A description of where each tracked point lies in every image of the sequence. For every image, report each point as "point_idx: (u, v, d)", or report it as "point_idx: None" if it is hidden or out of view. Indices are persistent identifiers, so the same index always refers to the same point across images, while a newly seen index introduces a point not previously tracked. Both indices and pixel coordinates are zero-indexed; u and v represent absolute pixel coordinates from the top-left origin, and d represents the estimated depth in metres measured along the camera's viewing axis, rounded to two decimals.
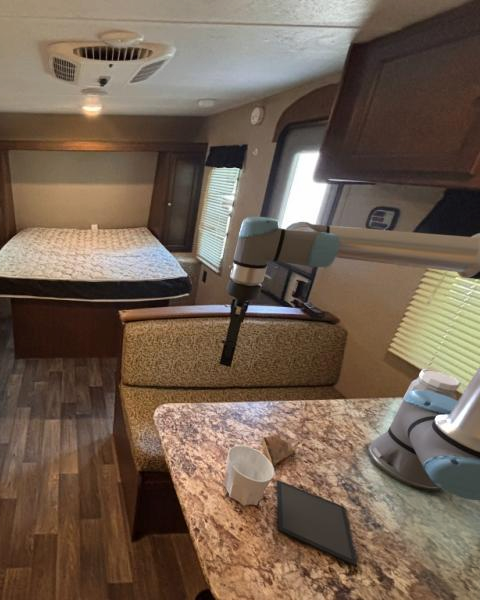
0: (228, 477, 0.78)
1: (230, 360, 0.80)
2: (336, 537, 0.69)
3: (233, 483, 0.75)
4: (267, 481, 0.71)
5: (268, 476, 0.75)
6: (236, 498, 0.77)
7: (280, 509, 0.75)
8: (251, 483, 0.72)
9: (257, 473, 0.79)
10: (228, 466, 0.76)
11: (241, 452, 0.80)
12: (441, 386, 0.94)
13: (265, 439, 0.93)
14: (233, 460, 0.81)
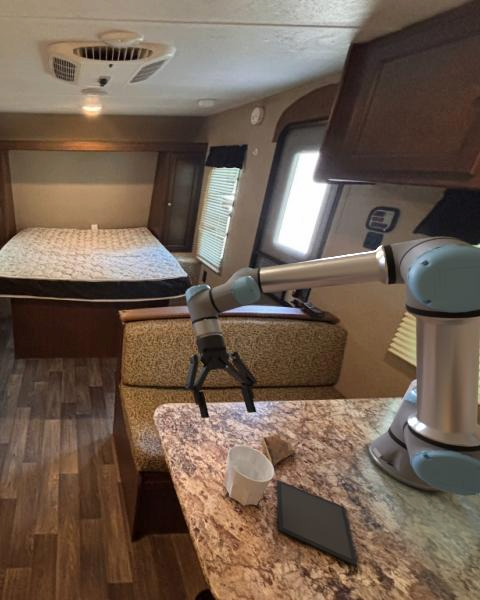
0: (228, 477, 0.78)
1: (204, 409, 0.82)
2: (336, 537, 0.69)
3: (233, 483, 0.75)
4: (267, 481, 0.71)
5: (268, 476, 0.75)
6: (236, 498, 0.77)
7: (280, 509, 0.75)
8: (251, 483, 0.72)
9: (257, 473, 0.79)
10: (228, 466, 0.76)
11: (241, 452, 0.80)
12: None
13: (265, 439, 0.93)
14: (233, 460, 0.81)
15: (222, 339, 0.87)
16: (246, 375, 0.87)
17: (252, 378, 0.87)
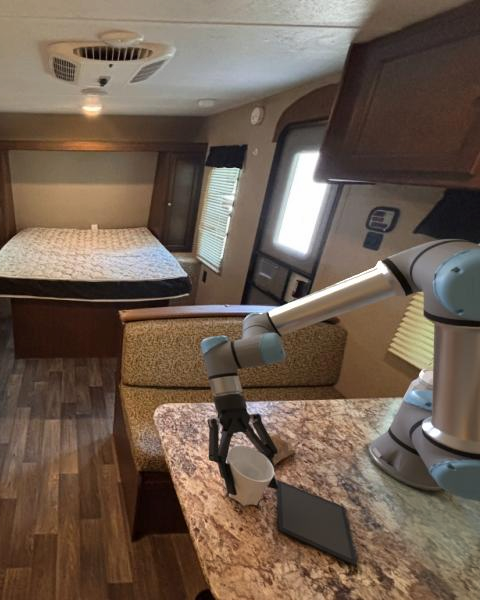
0: None
1: (231, 485, 0.74)
2: (336, 537, 0.69)
3: None
4: (267, 481, 0.71)
5: (268, 476, 0.75)
6: (236, 498, 0.77)
7: (280, 509, 0.75)
8: (251, 483, 0.72)
9: (257, 473, 0.79)
10: None
11: (241, 452, 0.80)
12: None
13: None
14: (233, 460, 0.81)
15: (243, 399, 0.80)
16: (266, 442, 0.79)
17: (273, 447, 0.78)
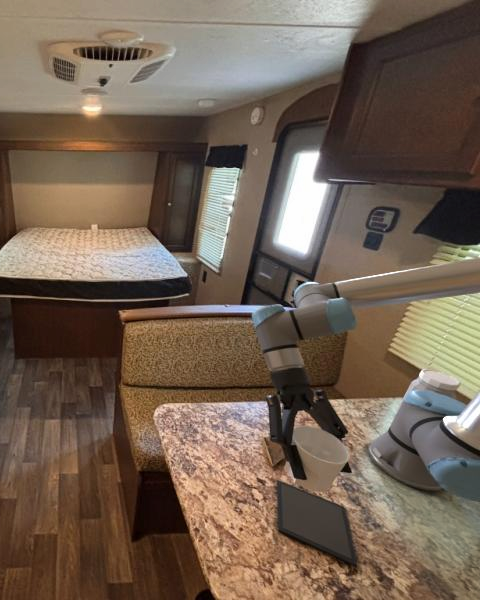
0: None
1: (299, 469, 0.65)
2: (336, 537, 0.69)
3: None
4: (343, 463, 0.62)
5: (340, 459, 0.66)
6: (303, 484, 0.68)
7: (280, 509, 0.75)
8: (325, 466, 0.63)
9: (325, 456, 0.69)
10: None
11: (304, 433, 0.71)
12: (441, 386, 0.94)
13: (265, 439, 0.93)
14: None
15: (306, 373, 0.71)
16: (334, 422, 0.70)
17: (342, 427, 0.69)
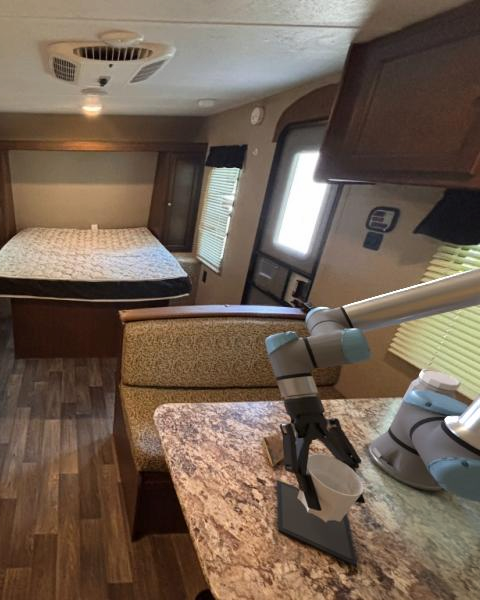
0: None
1: (313, 499, 0.66)
2: (336, 537, 0.69)
3: None
4: (358, 495, 0.63)
5: (354, 489, 0.67)
6: (316, 513, 0.68)
7: (280, 509, 0.75)
8: (339, 497, 0.64)
9: (338, 484, 0.70)
10: None
11: (318, 461, 0.72)
12: (441, 386, 0.94)
13: (265, 439, 0.93)
14: (309, 470, 0.72)
15: (320, 402, 0.72)
16: (347, 450, 0.71)
17: (355, 456, 0.70)
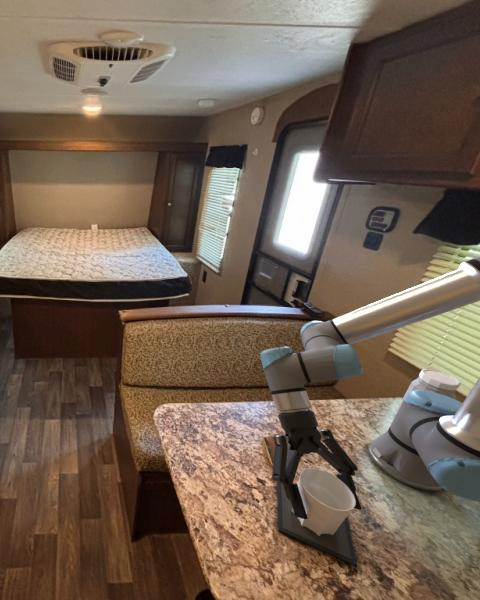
0: None
1: (300, 508, 0.68)
2: (336, 537, 0.69)
3: (308, 511, 0.69)
4: (350, 510, 0.65)
5: (347, 503, 0.69)
6: (310, 526, 0.70)
7: (280, 509, 0.75)
8: (332, 512, 0.65)
9: (331, 498, 0.72)
10: (301, 492, 0.70)
11: (311, 475, 0.74)
12: (441, 386, 0.94)
13: (265, 439, 0.93)
14: (302, 484, 0.74)
15: (314, 416, 0.74)
16: (343, 459, 0.73)
17: (351, 464, 0.73)
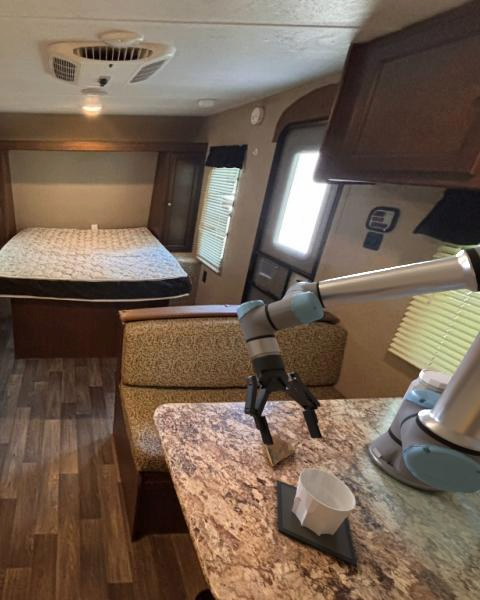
0: (299, 503, 0.72)
1: (267, 436, 0.77)
2: (336, 537, 0.69)
3: (308, 511, 0.69)
4: (350, 510, 0.65)
5: (347, 503, 0.69)
6: (310, 526, 0.70)
7: (280, 509, 0.75)
8: (332, 512, 0.65)
9: (331, 498, 0.72)
10: (301, 492, 0.70)
11: (311, 475, 0.74)
12: (441, 386, 0.94)
13: None
14: (302, 484, 0.74)
15: (282, 359, 0.82)
16: (308, 397, 0.82)
17: (315, 401, 0.81)
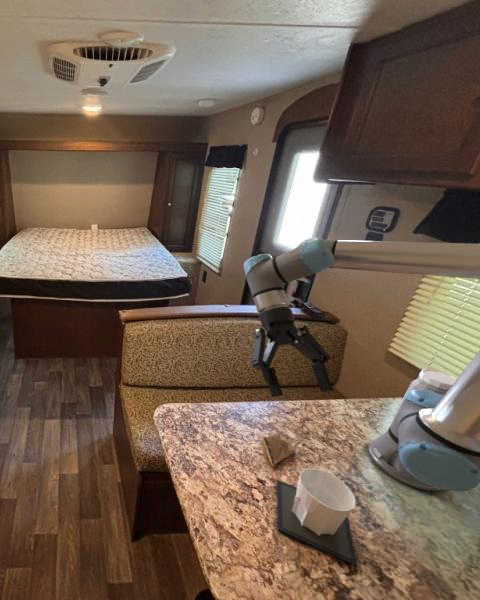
0: (299, 503, 0.72)
1: (276, 387, 0.74)
2: (336, 537, 0.69)
3: (308, 511, 0.69)
4: (350, 510, 0.65)
5: (347, 503, 0.69)
6: (310, 526, 0.70)
7: (280, 509, 0.75)
8: (332, 512, 0.65)
9: (331, 498, 0.72)
10: (301, 492, 0.70)
11: (311, 475, 0.74)
12: (441, 386, 0.94)
13: (265, 439, 0.93)
14: (302, 484, 0.74)
15: (291, 311, 0.80)
16: (317, 351, 0.79)
17: (325, 354, 0.79)
